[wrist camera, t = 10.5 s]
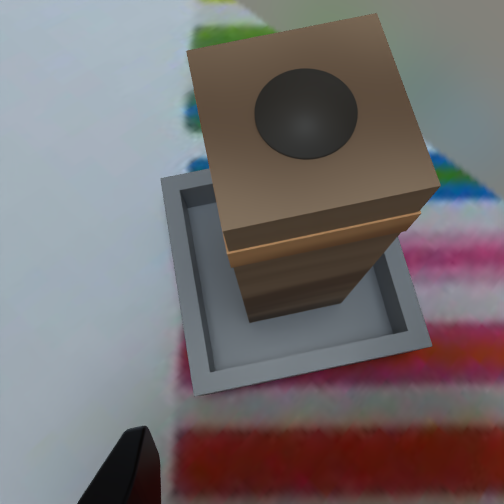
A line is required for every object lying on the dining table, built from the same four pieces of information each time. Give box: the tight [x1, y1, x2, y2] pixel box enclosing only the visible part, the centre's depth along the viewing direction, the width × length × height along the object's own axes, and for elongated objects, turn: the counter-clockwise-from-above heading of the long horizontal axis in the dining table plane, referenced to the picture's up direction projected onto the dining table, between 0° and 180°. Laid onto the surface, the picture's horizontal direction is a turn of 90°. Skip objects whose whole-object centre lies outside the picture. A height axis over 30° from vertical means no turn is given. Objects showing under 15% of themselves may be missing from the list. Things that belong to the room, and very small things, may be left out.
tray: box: [161, 169, 432, 396], centre depth 21 cm, size 10×10×3 cm
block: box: [186, 13, 441, 323], centre depth 16 cm, size 5×5×13 cm
